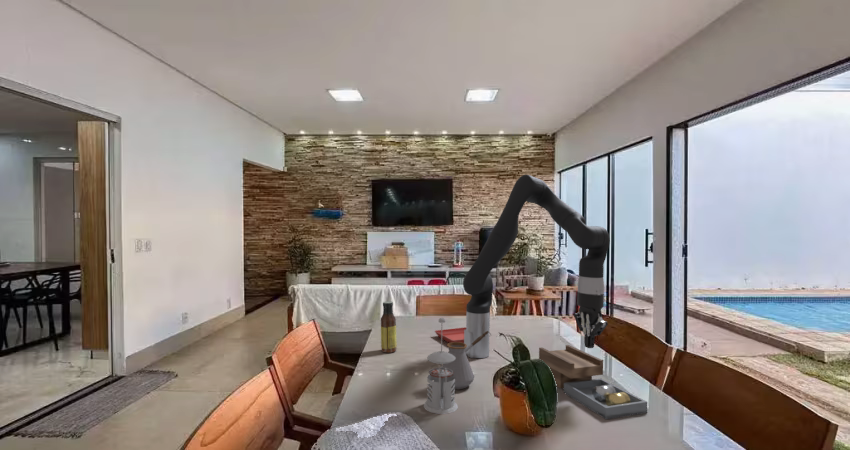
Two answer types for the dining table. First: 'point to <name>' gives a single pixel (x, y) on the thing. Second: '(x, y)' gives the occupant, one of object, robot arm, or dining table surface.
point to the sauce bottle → (388, 328)
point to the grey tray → (585, 396)
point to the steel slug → (602, 392)
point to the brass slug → (617, 399)
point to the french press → (441, 383)
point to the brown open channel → (571, 365)
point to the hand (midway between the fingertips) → (589, 347)
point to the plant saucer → (452, 334)
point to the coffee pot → (461, 363)
